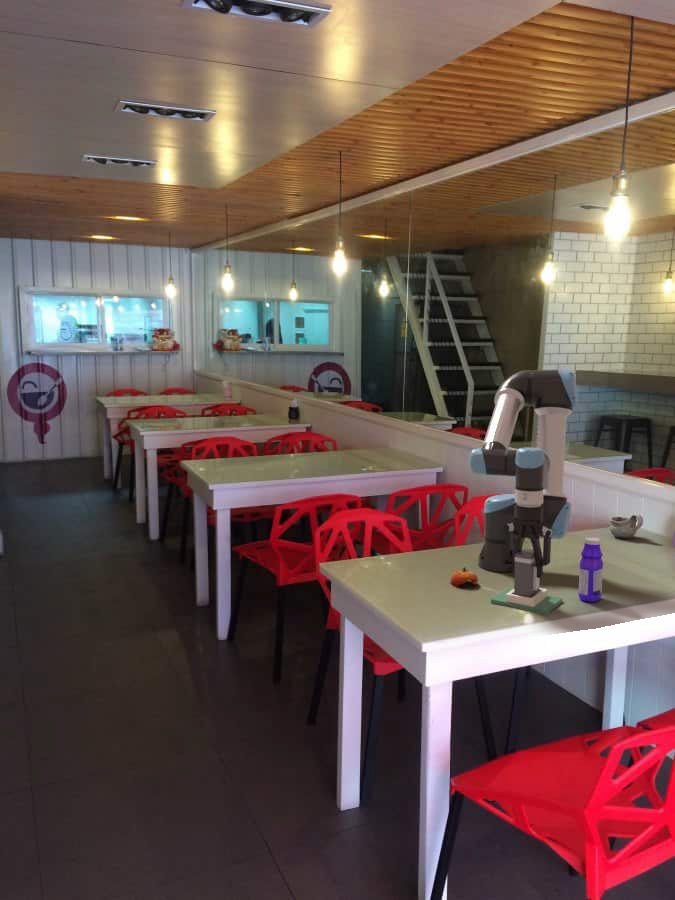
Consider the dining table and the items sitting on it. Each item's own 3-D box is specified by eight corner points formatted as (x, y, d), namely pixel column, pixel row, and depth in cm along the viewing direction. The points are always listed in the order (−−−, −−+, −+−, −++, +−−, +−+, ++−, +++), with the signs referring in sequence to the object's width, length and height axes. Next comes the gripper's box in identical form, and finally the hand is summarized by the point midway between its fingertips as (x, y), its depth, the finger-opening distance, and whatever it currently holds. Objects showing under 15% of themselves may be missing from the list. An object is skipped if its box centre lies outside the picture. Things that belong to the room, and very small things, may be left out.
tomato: (485, 578, 219) (474, 564, 216) (477, 598, 216) (466, 583, 212) (463, 577, 225) (452, 563, 221) (455, 596, 221) (444, 582, 218)
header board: (490, 602, 202) (491, 592, 202) (508, 591, 212) (508, 581, 212) (546, 614, 193) (547, 603, 193) (562, 601, 203) (562, 591, 202)
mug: (617, 533, 278) (618, 507, 277) (649, 539, 269) (650, 512, 268) (604, 537, 272) (605, 511, 271) (636, 543, 263) (637, 516, 261)
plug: (513, 596, 201) (514, 554, 199) (524, 588, 207) (525, 547, 205) (529, 599, 198) (530, 556, 196) (540, 591, 204) (541, 550, 203)
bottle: (584, 593, 209) (586, 534, 207) (604, 597, 205) (607, 537, 203) (575, 600, 203) (577, 539, 201) (595, 604, 200) (597, 543, 198)
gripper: (493, 503, 201) (491, 584, 204) (555, 510, 191) (553, 596, 194) (504, 498, 207) (502, 577, 210) (565, 505, 197) (562, 588, 200)
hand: (527, 586), depth 202 cm, fingers closed on plug, 4 cm apart
